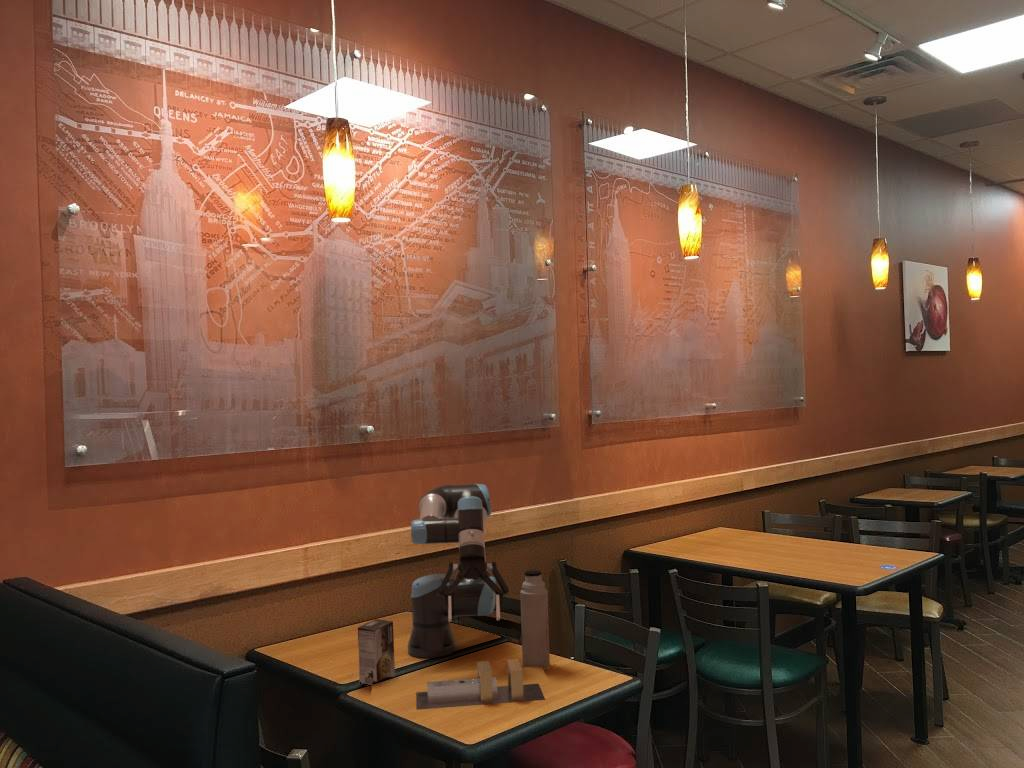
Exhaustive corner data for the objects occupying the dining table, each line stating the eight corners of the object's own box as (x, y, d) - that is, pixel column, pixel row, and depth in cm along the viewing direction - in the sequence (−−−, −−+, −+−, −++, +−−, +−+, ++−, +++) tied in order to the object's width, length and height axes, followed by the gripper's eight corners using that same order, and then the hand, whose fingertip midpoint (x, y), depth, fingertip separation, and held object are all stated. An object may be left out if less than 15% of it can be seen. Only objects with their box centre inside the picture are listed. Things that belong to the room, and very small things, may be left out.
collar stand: (416, 698, 223) (415, 664, 223) (538, 689, 226) (537, 655, 226) (416, 715, 211) (415, 679, 211) (545, 705, 215) (544, 670, 215)
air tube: (427, 697, 219) (427, 681, 219) (495, 692, 221) (495, 676, 221) (428, 702, 215) (427, 686, 215) (497, 697, 217) (496, 681, 217)
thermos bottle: (551, 662, 248) (548, 568, 248) (547, 672, 240) (544, 574, 240) (525, 662, 249) (522, 568, 249) (520, 671, 241) (517, 574, 242)
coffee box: (377, 674, 243) (375, 618, 243) (395, 676, 240) (394, 620, 240) (358, 684, 234) (356, 627, 235) (377, 687, 232) (375, 629, 232)
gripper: (429, 543, 240) (430, 616, 229) (515, 542, 243) (519, 614, 232) (428, 553, 247) (429, 624, 235) (512, 551, 250) (516, 622, 239)
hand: (474, 619), depth 234 cm, fingers open, 13 cm apart
